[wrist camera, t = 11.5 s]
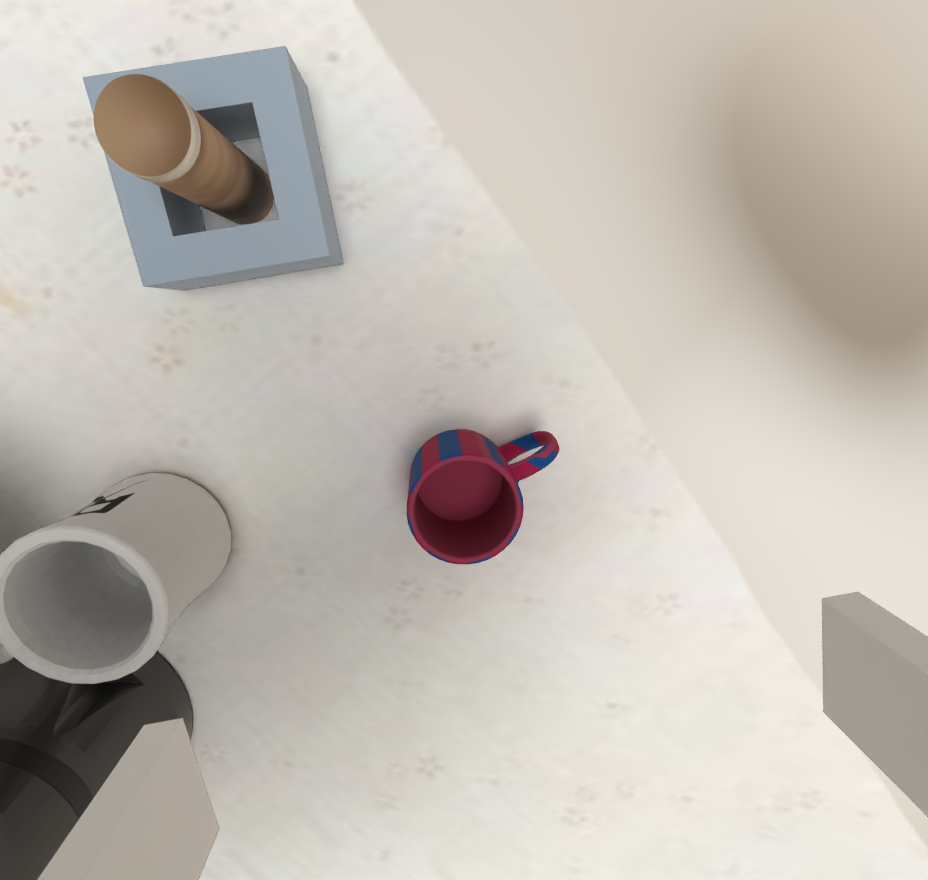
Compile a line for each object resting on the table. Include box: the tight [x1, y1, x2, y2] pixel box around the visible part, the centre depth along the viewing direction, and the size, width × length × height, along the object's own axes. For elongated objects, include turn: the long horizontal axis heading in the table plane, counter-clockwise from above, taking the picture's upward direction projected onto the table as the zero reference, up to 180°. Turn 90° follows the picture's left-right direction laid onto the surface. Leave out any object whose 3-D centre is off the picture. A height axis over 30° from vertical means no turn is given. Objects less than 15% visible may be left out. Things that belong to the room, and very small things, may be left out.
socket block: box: [83, 46, 343, 290], centre depth 31 cm, size 10×10×5 cm
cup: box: [407, 430, 559, 564], centre depth 34 cm, size 7×10×7 cm
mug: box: [0, 473, 231, 684], centre depth 33 cm, size 12×9×10 cm
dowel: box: [94, 74, 274, 224], centre depth 27 cm, size 4×4×12 cm
